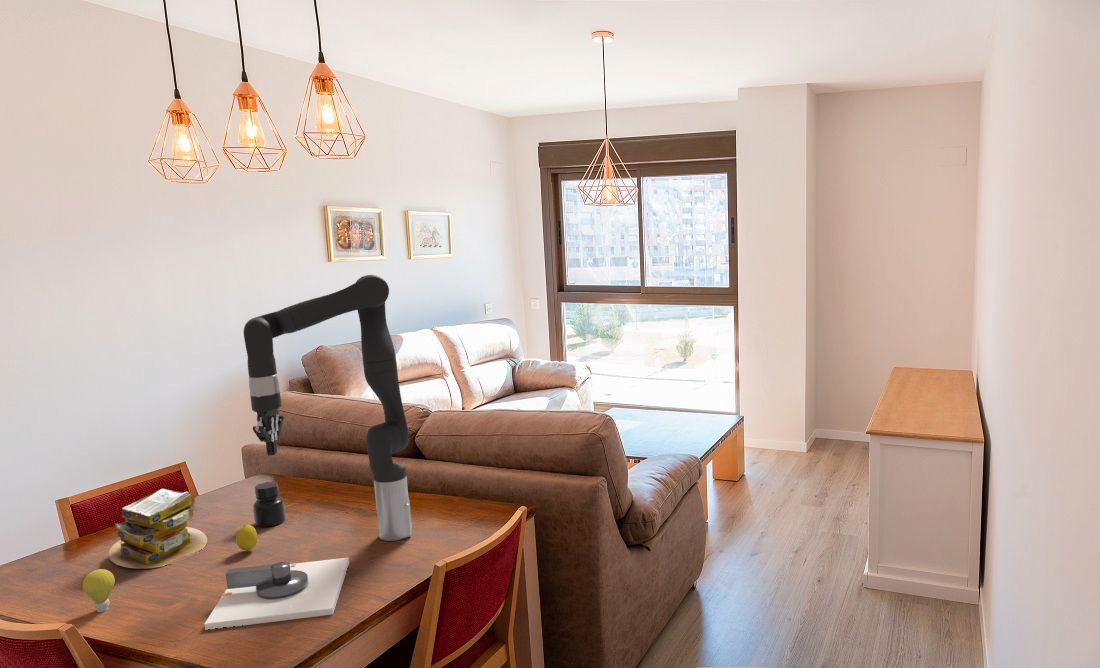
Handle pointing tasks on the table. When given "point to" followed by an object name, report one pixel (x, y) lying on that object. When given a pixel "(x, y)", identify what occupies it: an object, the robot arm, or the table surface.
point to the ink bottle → (268, 505)
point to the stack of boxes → (156, 531)
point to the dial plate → (309, 602)
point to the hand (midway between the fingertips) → (272, 454)
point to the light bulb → (99, 587)
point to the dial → (268, 580)
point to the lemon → (246, 537)
